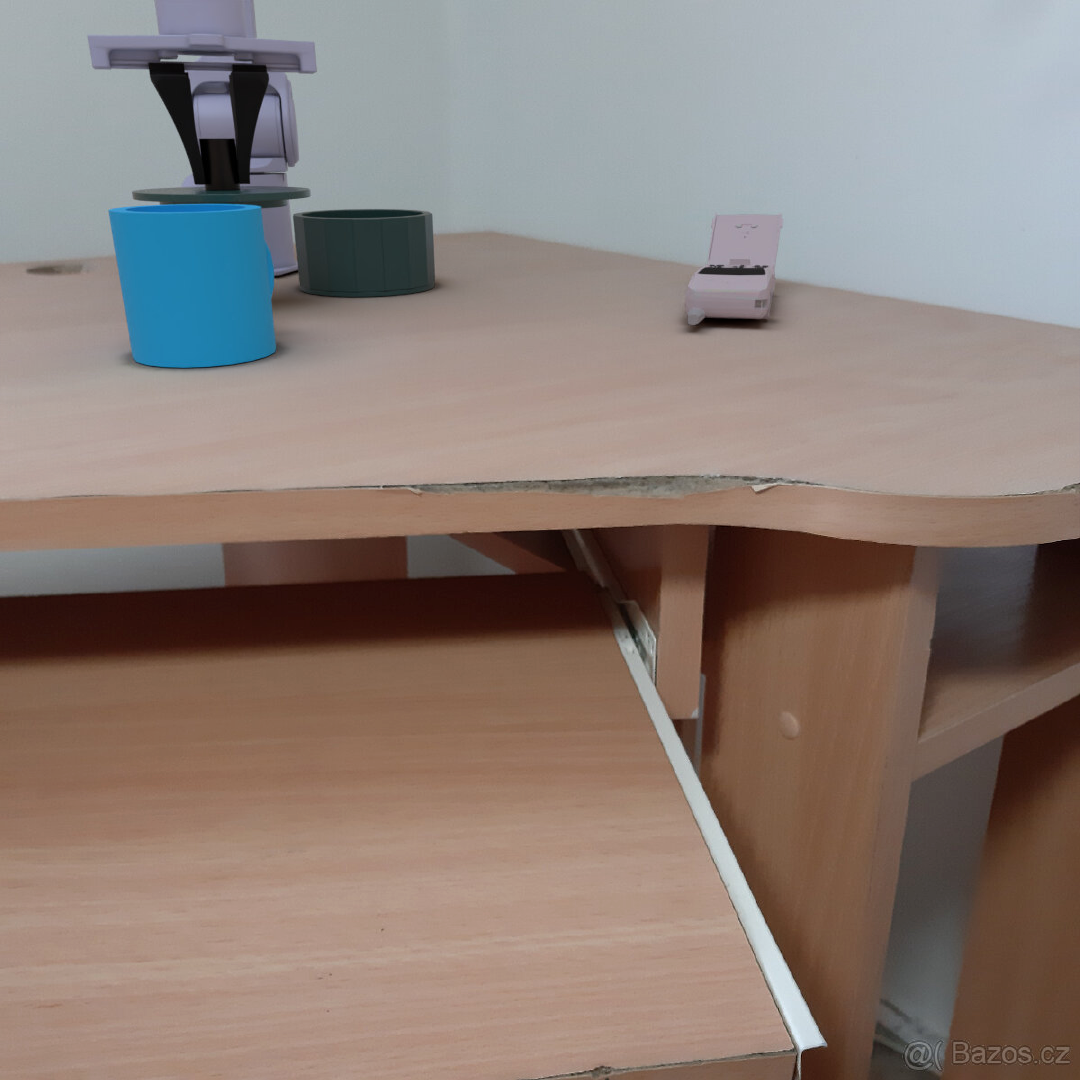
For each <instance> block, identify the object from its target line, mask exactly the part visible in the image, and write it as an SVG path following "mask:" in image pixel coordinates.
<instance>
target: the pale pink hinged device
mask: <svg viewBox="0 0 1080 1080" xmlns="http://www.w3.org/2000/svg"><path fill="white" fill-rule="evenodd" d="M782 217H783V213H778V214H765V213H761V214H760V213H750V214H747V213H746V214H718V213H714V218H712V220H711V225H710V228H711V233H710V242H709V248H708V256H707V262H706V263H705V264H704V266H702V267H700V268H699V269H698V270H696V271H695V272H694V273H693V274H692V276H691V278H690V280H689V282H688V284H687V286H686V291H685V298H684V299H685V300H684V306H685V307H684V308H685V313H686V315H687V324H688V325H691V326H695V325H699V324H700V323H701V322H702V321H703V320H704V319H706V318H707V319H739V320H740V319H741V320H769V319H770V313H771V310H772V302H773V297H774V293H775V288H776V281H777V280H776V262H777V256H778V250H779V243H780V234H781V229H783V227H784V218H782Z"/></svg>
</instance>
